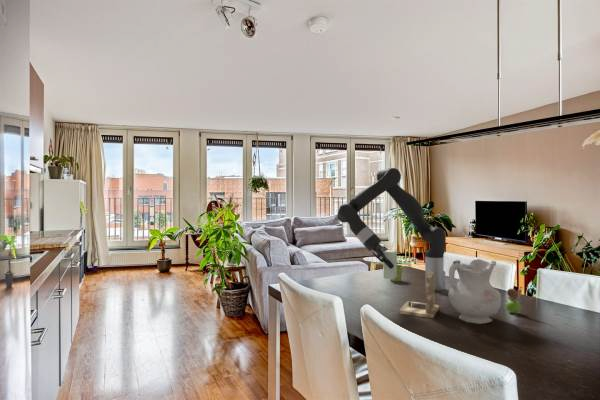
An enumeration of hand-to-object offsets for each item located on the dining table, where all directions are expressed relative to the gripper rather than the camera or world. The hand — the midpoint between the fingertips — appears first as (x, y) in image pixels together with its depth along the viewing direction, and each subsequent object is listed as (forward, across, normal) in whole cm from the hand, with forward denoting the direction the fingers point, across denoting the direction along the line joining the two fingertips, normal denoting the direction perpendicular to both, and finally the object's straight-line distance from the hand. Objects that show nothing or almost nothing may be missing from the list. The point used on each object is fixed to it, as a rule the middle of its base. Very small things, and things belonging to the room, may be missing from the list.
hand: (394, 266), depth 166 cm
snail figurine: (+46, +15, -20) cm, 53 cm away
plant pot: (+4, +52, +22) cm, 56 cm away
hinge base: (+21, 0, +5) cm, 21 cm away
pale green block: (+2, 0, +5) cm, 6 cm away
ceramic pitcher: (+36, -2, -10) cm, 37 cm away
